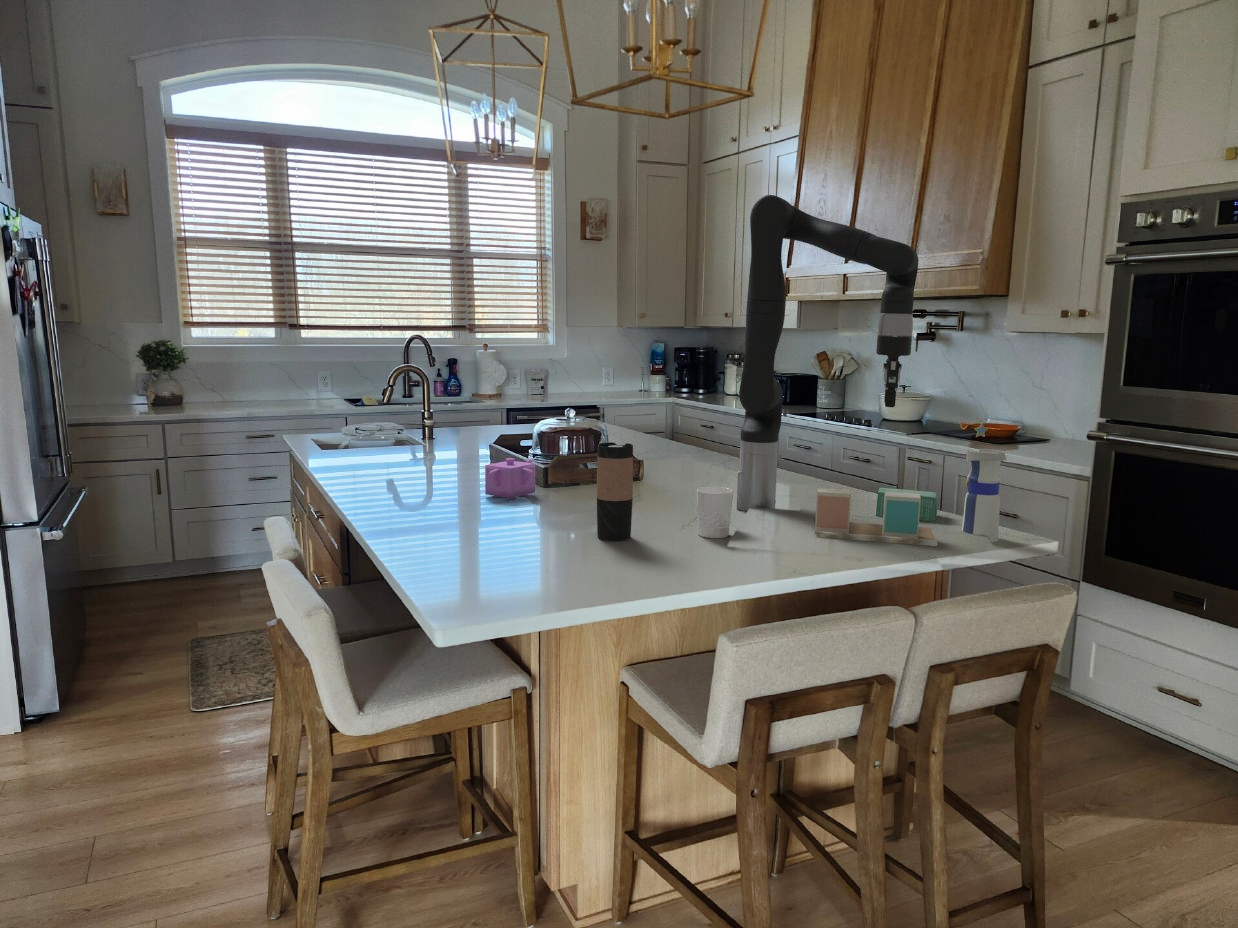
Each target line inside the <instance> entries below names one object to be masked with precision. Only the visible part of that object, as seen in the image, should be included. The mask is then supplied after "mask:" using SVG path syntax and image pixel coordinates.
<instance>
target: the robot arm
mask: <svg viewBox="0 0 1238 928" xmlns="http://www.w3.org/2000/svg"><path fill="white" fill-rule="evenodd" d="M749 217H750V218H749V219H750V221H749V223H750V248H751V249H750V253H751V254H750V263H749V274H748V275H749V276H748V285H747V286H748V287H747V288H748V289H747V296H746V312H745V331H744V332H745V334H744V361H743V367H742V374H741V378H740V385H739V391H738V399H739V402H740V405H741V406H742V409H744V410H745V412H744V421H743V423H742V427H741V430H740V439H739V445H740V446H739V447H740V448H739V467H738V469H739V470H737V486H736V487H737V489H736V510H741V511H746V512H748V511H749V509H751V508H753V509H764V510H765V509H766V510H775V509H776V501H777V500H776V497H777V496H776V495H777V473H778V452H779V451H778V450H779V447H778V446H779V433H780V430H781V427H782V413H783V400H784V397H783V388H782V385H781V384H780V382H779V381H778V379H776V378H775V358H776V354H777V353H776V352H777V348H778V346H779V342H780V339H781V336H782V333H783V329H784V323H785V317H786V303H787V302H786V301H787V289H786V281H785V280H786V279H785V275H784V269H783V263H782V254H783V252H782V251H783V242H784V240H789V241H791V240H792V241H797V242H801V243H804V244H809V245H811V246H813V247H816V248H819V249H820V250H823V251H825V252H828V253H831V254H833V255H834V256H837V257H840V258H843V259H846V260H849V261H851V262H855V263H857V264H862V265H867V266H869V267H872V268H875V269H877V270H880V271H881V272H884V273H886V275H885V285H884V286H885V287H884V289H883V291H882V293H881V298H880V300H881V301H880V313H879V319H878V325H877V338H876V350H875V351H876V354H877V356H887V358H886V360H885V362H883V364H882V365H883V367H882V371H883V382H884V389H885V390H884V398H883V399H884V402H883V403H884V406H885V407H886V408H895V407H896V399H897V398H896V397H897V390H898V387H899V382H900V380H901V372H902V368H903V367H902V365H903V364H902V363H901V362H900V361H899V358H900V357H908V356H910V355H911V353H912V342H913V330H914V329H913V327H914V321H913V318H914V317H913V311H914V300H915V299H914V298H915V296H914V293H915V287H916V282H917V278H918V277H917V276H918V270H919V255H918V253H917V251H916V249H914V248H913V247H912V246H910V245H908V244H907V243H904V242H901V241H896V240H892V239H888V238H887V237H886V238H885V237H882V236H877V235H876V234H874V233H871V232H869V231H866V230H864V229H859V228H856V227H854V226H850V225H847V224H843V223H839V222H834V221H831V220H830V221H829V220H826V219H822V218H819V217H817V216H813V215H811V214H810V213H807V212H804V211H802V210H801V209H799V208H797V207H796V206H794V205H792V204H791V203H790V202H789V201H787V200H786V199H783V198H781V197H780V196H777V195H774V194H765V195H763V196H761V197H760V198H758V199H757V200H756V201H755V203H754V204H753V206H752V208H751V211H750V216H749Z"/></svg>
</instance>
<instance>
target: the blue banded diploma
mask: <svg viewBox="0 0 1238 928" xmlns="http://www.w3.org/2000/svg"><path fill="white" fill-rule="evenodd" d="M973 429H974V431H976V435H975V438H977V437H980V436H981V437H983V438H985V437H986V434H985V433H986V432H987V431H988V430H989V427H985V425H984V423H983V422H981V424H980V425H979V426H978V427H974V428H973ZM969 461H970V471H969V473H968V475H967V476H966V478H967V479H966V481H965V489H966V491H967V492H966V494H965V496H964V497H965V498H964V503H963V504H964V505H963V507H964V508H963V516H962V517H963V518H962V524H961V525H962V526H961V531H962V532H964V533H967V534H970V535H976V536H985V537H987V539H988V541H989V543H996V542H998V541H999V537H1000V536H999V535H1000V533H999V532H1000V531H999V529H1000V528H999V527H1000V514H1001V513H1000V510H1001V497H1000V493H999V492H1000V482H1002V481H1003V478H1002V476H1001V474H1000V467H1001V463H1002V462H1003V461H1007V457H1006V453H1005V451H1003V450H999V449H998V450H996V449H990V448H981V449H979V451H974V450H973V451H972V450H969V449H967V450H966V456H965V464H968V462H969Z"/></svg>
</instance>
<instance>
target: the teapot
mask: <svg viewBox="0 0 1238 928" xmlns="http://www.w3.org/2000/svg"><path fill="white" fill-rule="evenodd" d="M534 460H535V459H534V458H530V459H528V460H526V461H525V462H524V461H516V459H515V458H511V457H509V458H508V457H507V458H505V461H500V462H495V463H489V464H486V465H484V472H485V473H484V481H485V482H484V484H485V485H484V487H485V493H484V495H486V496H487V495H488V496H492V497H494V498H507V500H509V501H511V500H516V498H518V497H521V498H525V497H527V496H528V495H530V494H534V493H536V464H535V463H534V462H533V461H534Z"/></svg>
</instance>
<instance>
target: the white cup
mask: <svg viewBox="0 0 1238 928" xmlns="http://www.w3.org/2000/svg"><path fill="white" fill-rule="evenodd" d="M733 497H734V489H732V488H728V487H724V486H723V487H722V486H702V487H698V488H697V489H696V521H697V522H696V523H697V535H698V536H700V537H701V538H702V537H703V538H707V539H723V538H728V537H729V535H730V524H731V519H732V510H733V509H732V508H733Z"/></svg>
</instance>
